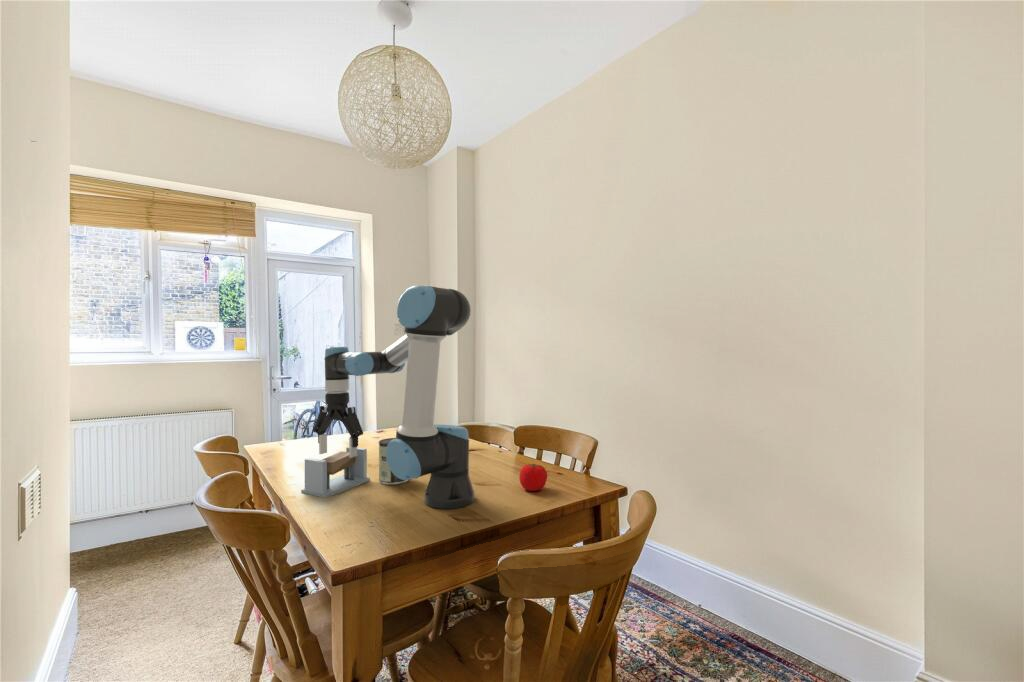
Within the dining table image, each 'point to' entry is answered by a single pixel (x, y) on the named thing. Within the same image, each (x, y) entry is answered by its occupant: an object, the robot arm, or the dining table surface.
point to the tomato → (533, 477)
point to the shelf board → (338, 462)
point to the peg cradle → (325, 487)
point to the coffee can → (386, 466)
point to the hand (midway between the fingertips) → (337, 455)
